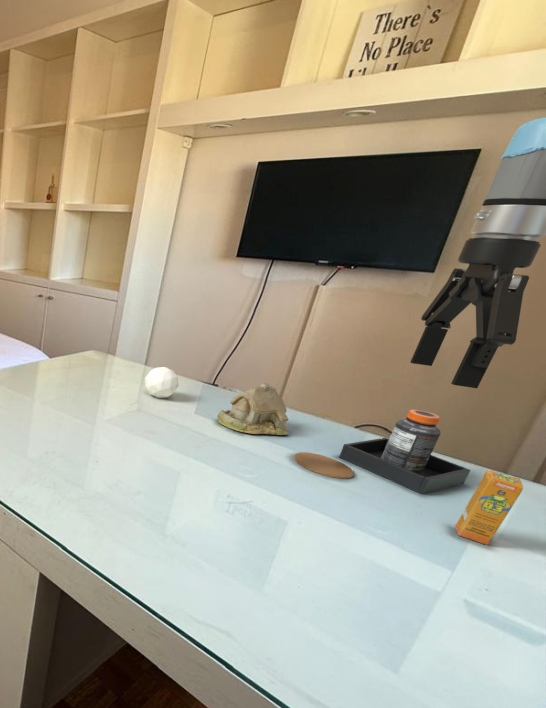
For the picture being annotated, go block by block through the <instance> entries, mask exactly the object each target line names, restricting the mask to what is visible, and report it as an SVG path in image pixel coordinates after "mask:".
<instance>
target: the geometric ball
mask: <svg viewBox="0 0 546 708" xmlns="http://www.w3.org/2000/svg"><path fill="white" fill-rule="evenodd" d="M144 386H145V389H146V391H147V392H148V394H149V395H151V396H153V397H155V398H157V399H165V398H166V399H167V398H169V397H170V396H171V395H173V394H174V393H175V392H176V390H177V389H178V388H179V378H178V376H177V374H176V372H175V371H174V370H172V369H171V368H168V367H167V366H160V367H154V368H153V369H151V370H150V371H149V372H148V374H146V376H145V378H144Z"/></svg>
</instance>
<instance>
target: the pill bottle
mask: <svg viewBox="0 0 546 708" xmlns="http://www.w3.org/2000/svg"><path fill="white" fill-rule="evenodd" d="M440 418H441V417H440V416H439V415H437V414H436V413H432V412H429V411H425V410H419V409H410V410H409V411H408V413H407V414H406V418H403V419H398V421H396V423H395V425H394V427H393V429H392V431H391V434H390V436H389V438H388V439H389V441H388V443H387V445H386V448H385V450H384V452H383V455H382V457H381V459H383V460H386V461H388V462H391V463H393V464H395V465H398V466H400V467H403V468H405V469H407V470H410V471H412V472H415V473H417V474H419V475H420V474H422V472H423V470H424V468H425V466H426V464H427V461H428V459H429V457H430V455H432V453H433V451H434V449H435V446H436V445H437V443H438V441H439V439H440V436H441V430H440V429H439V428H438V427H437V425H438V424H439V421H440Z"/></svg>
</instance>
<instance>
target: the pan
mask: <svg viewBox="0 0 546 708" xmlns="http://www.w3.org/2000/svg"><path fill="white" fill-rule="evenodd" d="M381 438H382V439H381ZM389 439H390V438H388V437H380V438H375V439H367V440H362V441H356V442H355V441H354V442H349V443H344V444H343V447H342V448H341V452H340V453H339V455H338V458H340V459H342V460H344V461H346V462H349V463H351V464H353V465H355V466H357V467H360V468H361V469H364V470H366V471H369V472H370V473H373V474H375V475H378V476H380V477H382V478H384V479H386V480H389V481H391V482H393V483H395V484H397V485H400V486H402V487H405V488H407V489H409V490H412V491H414V492H416V493H418V494H420V495H424V494H428V493H432V492H435V491H440V490H444V489H448V488H453V487H456V486H460V485H464V484H465V482H466V481H467V479H468V477H469V476H470V475H469V474H470V473H471V469H469V468H466V467H464V466H463V465H459V464H456V463H453V462H451V461H448V460H446V459H443V458H440V457H437V456H435V455H433V454H431V455H430V457H429V459H428V461H427V464H426V466H425V468H424V470H423V472H422V474H420V475H419V474H417V473H415V472H412V471H410V470H407V469H405V468H403V467H400V466H398V465H395V464H393V463H391V462H388V461H386V460H383V459H381V457H382V455H383V452H384V450H385V448H386V445H387V443H388V441H389Z"/></svg>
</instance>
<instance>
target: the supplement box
mask: <svg viewBox="0 0 546 708" xmlns="http://www.w3.org/2000/svg"><path fill="white" fill-rule="evenodd" d="M523 490H524V485H523V483H522V480H521V479H520V478H518V477H514V476H509V475H507V474H506V475H505V474H502V473H499V472H495V471H492V470H486V471H485V473H484V474H483V477H481V480H480V482H479V484H478V485H477V487H476V489H475V490H474V492H473V494H472V495H471V498H470V499H469V501H468V502H467V505H466V507H465V508H464V510H463V512H462V513H461V515H460V517H459V518H458V519H457V521H456V523H455V529H456V534H457V536H458V537H462V538H464V539H467V540H471V541H473V542H476V543H479V544H483V545H485V546H488V545H489V543H490V542H491V540H492V539H493V537H494V536H495V535H496V533H497V531H498V530H499V528H500V526H501V525H502V523H503V522H504V520H505V519H506V517H507V515H508V514H509V513H510V510H511V509H512V508H513V506H514V504H515V503H516V501H517V500H518V498H519V496H520V495H521V493H522V492H523Z"/></svg>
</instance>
